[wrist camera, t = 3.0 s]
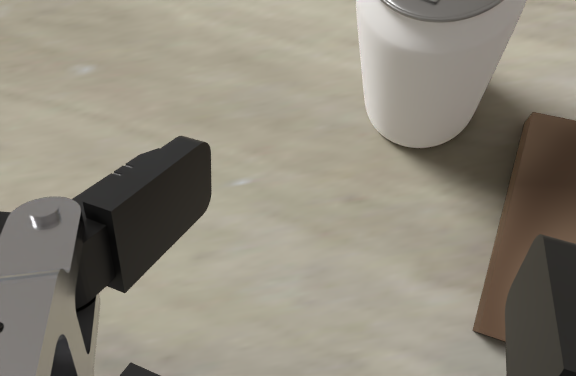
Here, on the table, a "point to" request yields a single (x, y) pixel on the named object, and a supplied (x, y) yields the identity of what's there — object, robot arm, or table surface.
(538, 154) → the socket board
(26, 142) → the table surface
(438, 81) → the can
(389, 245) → the table surface
